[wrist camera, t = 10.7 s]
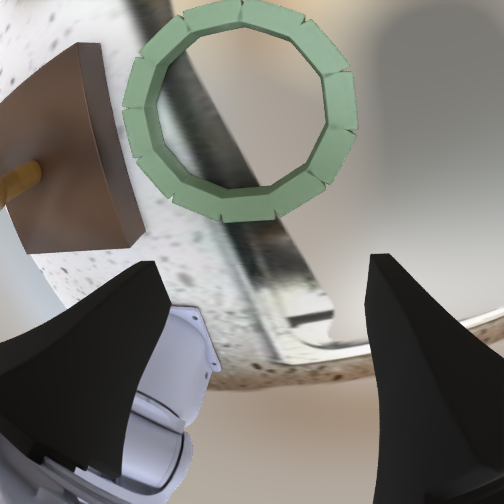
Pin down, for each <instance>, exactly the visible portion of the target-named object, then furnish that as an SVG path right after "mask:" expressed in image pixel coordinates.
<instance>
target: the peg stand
mask: <svg viewBox="0 0 504 504" xmlns="http://www.w3.org/2000/svg"><path fill="white" fill-rule="evenodd" d="M5 204H6V207H7V209H8V212H9V214H10V217H11V219H12V222H13V224H14V227H15V229H16V231H17V234H18V236H19V238H20V240H21V243H22V245H23V247H24V249H25V251H26V253H27V254H40V253H56V252H72V251H88V250H106V249H123V248H131V246H132V245H133V244H134V243H135V242H136V241H137V240H138V239H139V238H140V237H141V236H142V234H143V233H144V232H145V228H144V225H143V222H142V219H141V216H140V213H139V210H138V207H137V203H136V200H135V197H134V194H133V190H132V187H131V184H130V180H129V177H128V173H127V170H126V166H125V163H124V159H123V155H122V151H121V147H120V143H119V139H118V135H117V131H116V127H115V123H114V118H113V114H112V109H111V104H110V100H109V94H108V89H107V84H106V78H105V73H104V67H103V60H102V53H101V46H100V43H82V42H77V43H75V44H74V45H72V46H71V47H69V48H68V49H66V50H65V51H63V52H62V53H60V54H59V55H57V56H56V57H55V58H53V59H52V60H50V61H49V62H48V63H46V64H45V65H44V66H42V67H41V68H40V69H39V70H37V71H36V72H35V73H34V74H32V75H31V76H30V77H29V78H28V79H26V80H25V81H24V82H23V83H22V84H21V85H19V86H18V87H17V88H16V89H15V90H14V91H13V92H12V93H11V94H9V95H8V96H7V97H6V98H5V99H4V100H3V101H2V102H1V103H0V210H1V209H2V208H3V207H4V206H5Z"/></svg>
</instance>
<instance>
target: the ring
mask: <svg viewBox="0 0 504 504" xmlns="http://www.w3.org/2000/svg"><path fill="white" fill-rule="evenodd" d="M183 16H184V17H182V16H180V15H176V16H175V17H174V18H173V19H172V20H170V21H169V22H168V23H167V24H166V25H165V26H164V27H163V28H162V29H161V30H160V31H159V32H158V33H157V34H156V35H155V36H154V37H153V38H152V39H151V40H150V41H149V42H148V43H147V44H146V45H145V46H144V47H143V48H142V49H141V50H140V51H139V54H140V55H141V56H142V57H143V58H139V57H136V58H135V60H134V63H133V67H132V70H131V73H130V77H129V80H128V84H127V88H126V91H125V95H124V99H123V103H122V106H124V107H127V108H129V109H126V110H124V111H122V114H123V119H124V123H125V127H126V132H127V136H128V140H129V144H130V148H131V152H132V156H133V158H137V157H141V156H142V157H141V158H140V159H139V160H138V161H137V162H136V163H137V165H138V166H139V167H140V168H141V169H142V171H143V172H144V173H145V174H146V175H147V176H148V177H149V179H150V180H151V181H152V182H153V183H154V184H155V185H156V187H157V188H158V189H159V190H160V191H161V192H162V193H163V195H164V196H165V197H166V198H167V199H169V198H170V197H171V196H172V195H173V194H174V196H173V200H172V203H174V204H177V205H179V206H182V207H184V208H186V209H189V210H191V211H194V212H196V213H198V214H201V215H203V216H206V217H208V218H210V219H213V220H215V221H219V219H220V217H221V216H222V219H223V223H228V222H243V221H259V220H275V217H276V213H277V214H278V215H279V216H280V217H282V216H284V215H286V214H287V213H289V212H290V211H292V210H294V209H295V208H297V207H299V206H300V205H302V204H303V203H305V202H307V201H309V200H310V199H312V198H313V197H315V196H317V195H318V194H320V193H322V192H323V191H325V190H326V187H325V183H326V184H328V185H331V184H332V182H333V181H334V179H335V177H336V175H337V173H338V171H339V170H340V167H341V166H342V164H343V162H344V160H345V158H346V156H347V154H348V152H349V151H350V149H351V147H352V145H353V143H354V141H355V139H356V137H357V136H356V135H355V134H354V133H353V132H352V131H350V130H358V116H357V104H356V94H355V85H354V76H353V72H351V71H342V70H344V69H346V68H347V67H349V66H350V64H349V63H348V62H347V60H346V59H345V58H344V57H343V55H342V54H341V53H340V51H339V50H338V49H337V48H336V46H335V45H334V44H333V43H332V42H331V40H330V39H329V38H328V37H327V36H326V35H325V33H324V32H323V31H322V30H321V29H320V28H319V27H318V26H317V24H316V23H315V22H314V21H313V20H312V19H310V20H308V21H306V22H305V15H304V14H302V13H299V12H296V11H293V10H290V9H287V8H284V7H281V6H278V5H274V4H271V3H268V2H264V1H261V0H245V1H244V2H243V1H242V0H223V1H219V2H214V3H210V4H206V5H203V6H199V7H196V8H192V9H189V10H186V11H183ZM243 27H246V28H250V29H253V30H257V31H260V32H263V33H266V34H269V35H272V36H275V37H278V38H281V39H284V40H287V41H289V42H291V43H292V44H293V45H294V46H295V47H296V49H297V50H298V51H299V52H300V53H301V54H302V56H303V57H304V58H305V59H306V60H307V62H309V64H310V65H311V66H312V68H313V69H314V70H315V71H316V73H317V74H318V75H319V76H320V78H321V84H322V91H323V99H324V109H325V118H326V124H325V126H324V128H323V130H322V132H321V134H320V136H319V138H318V140H317V142H316V144H315V146H314V148H313V150H312V152H311V154H310V156H309V158H308V160H307V162H306V163H305V164H303V165H302V166H300V167H299V168H297V169H295V170H294V171H292V172H291V173H289V174H288V175H286V176H285V177H283V178H282V179H280V180H279V181H277V182H276V183H274V184H273V185H271V186H261V187H249V188H238V189H226V188H223V187H221V186H218V185H216V184H213V183H211V182H208V181H206V180H203V179H201V178H198V177H196V176H193V175H191V174H189V172H188V171H187V170H186V169H185V168H184V167H183V165H182V164H181V163H180V162H179V161H178V160H177V159H176V157H175V156H174V155H173V154H172V153H171V152H170V150H169V149H168V148H167V147H166V146H165V145H164V141H163V137H162V132H161V128H160V123H159V118H158V114H157V109H156V103H157V99H158V96H159V93H160V90H161V86H162V83H163V80H164V77H165V74H166V71H167V68H168V66H169V65H170V64H171V63H172V62H173V61H174V60H175V59H176V58H177V57H178V56H179V55H180V54H181V53H183V52H184V51H185V50H186V49H187V48H188V47H189V46H190V45H191V44H192V43H194V42H195V41H196V40H197V39H198V38H200V37H202V36H206V35H210V34H214V33H219V32H223V31H228V30H233V29H238V28H243Z"/></svg>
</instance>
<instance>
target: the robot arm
mask: <svg viewBox="0 0 504 504" xmlns="http://www.w3.org/2000/svg"><path fill="white" fill-rule="evenodd" d="M171 305H172V303H171V301H170V299H169V296H168V294H167V292H166V289H165V287H164V284H163V282H162V279H161V277H160V274H159V272H158V269H157V266H156V264H155V261H140V262H138V263H136V264H134V265H133V266H131V267H129V268H128V269H126V270H124V271H123V272H121V273H120V274H118V275H117V276H115V277H114V278H112V279H111V280H110V281H108V282H107V283H105V284H104V285H102V286H101V287H100V288H98V289H97V290H95V291H94V292H92V293H91V294H90V295H88V296H87V297H85V298H84V299H82V300H81V301H79V302H78V303H76V304H75V305H73V306H72V307H70V308H69V309H67V310H66V311H64V312H62V313H61V314H59V315H58V316H56V317H54V318H53V319H51V320H49V321H47V322H46V323H44V324H42V325H40V326H38V327H36V328H34V329H32V330H30V331H28V332H26V333H24V334H21V335H19V336H17V337H14V338H12V339H9V340H7V341H4V342H1V343H0V504H166V503H167V501H168V499H169V497H170V496H171V494H172V493H173V491H174V490H175V489H176V488H177V487H178V486H179V485H180V484H181V483H182V481H183V480H184V478H185V476H186V474H187V472H188V469H189V467H190V463H191V460H192V455H193V444H192V441H191V438H190V435H189V434H188V433H187V432H185V431H184V428H185V427H187V426H188V425H190V424H191V423H192V422H193V421H194V420H195V419H196V417H197V416H198V414H199V411H200V408H201V405H202V402H203V399H204V395H205V392H206V389H207V386H208V383H209V380H210V376H211V373H212V371H217V372H219V371H221V365H220V362H219V360H218V358H217V355H216V353H215V350H214V348H213V345H212V342H211V340H210V337H209V335H208V332H207V329H206V327H205V324H204V322H203V319H202V316H201V313H200V311H199V310H198V309H197V308H194V307H175V306H171ZM364 306H365V316H366V326H367V334H368V339H369V344H370V349H371V354H372V359H373V364H374V370H375V376H376V381H377V388H378V396H379V411H380V412H379V413H380V437H379V458H378V470H377V480H376V487H375V493H374V499H373V504H504V358H503V357H502V356H500V355H499V354H498V353H496V352H495V351H493V350H492V349H491V348H489V347H488V346H487V345H486V344H484V343H483V342H482V341H480V340H479V339H478V338H477V337H476V336H474V335H473V334H472V333H471V332H470V331H469V330H467V329H466V328H465V327H464V326H463V325H461V324H460V323H459V322H458V321H457V320H456V319H455V318H453V317H452V316H451V315H450V314H449V313H448V312H447V311H446V310H445V309H444V308H443V307H442V306H441V305H440V304H439V303H438V302H437V301H436V300H435V299H434V298H433V297H431V296H430V295H429V293H428V292H426V291H425V289H423V287H421V285H420V284H418V282H417V281H416V280H415V279H414V278H413V277H412V276H411V275H410V274H409V273H408V272H407V271H406V270H405V269H404V268H403V267H402V266H401V265H400V264H399V263H398V262H397V261H396V260H395V259H394V258H393V257H392V256H391V255H390V254H389V253H387V254H371V255H370V264H369V272H368V282H367V289H366V296H365V303H364ZM195 316H196V317H195Z"/></svg>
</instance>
